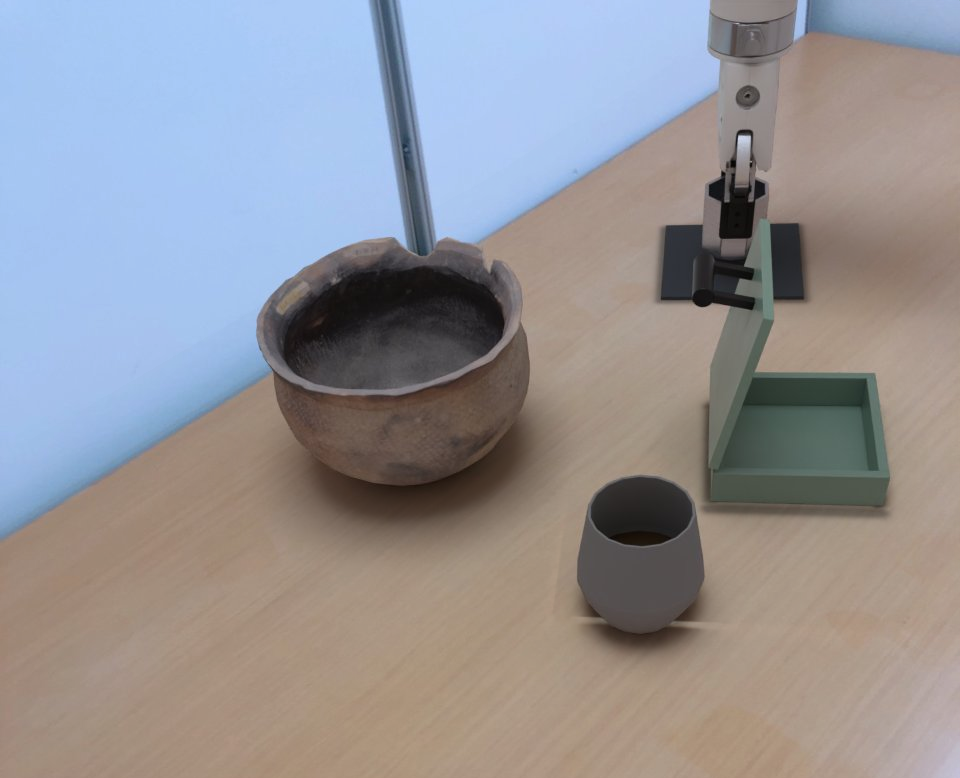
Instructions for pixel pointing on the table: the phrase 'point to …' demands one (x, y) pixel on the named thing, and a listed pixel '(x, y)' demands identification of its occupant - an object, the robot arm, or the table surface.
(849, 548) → the table surface
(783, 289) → the mat
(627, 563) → the cup
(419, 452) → the ceramic bowl
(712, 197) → the octagonal grey canister
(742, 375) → the box lid
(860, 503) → the green tray
